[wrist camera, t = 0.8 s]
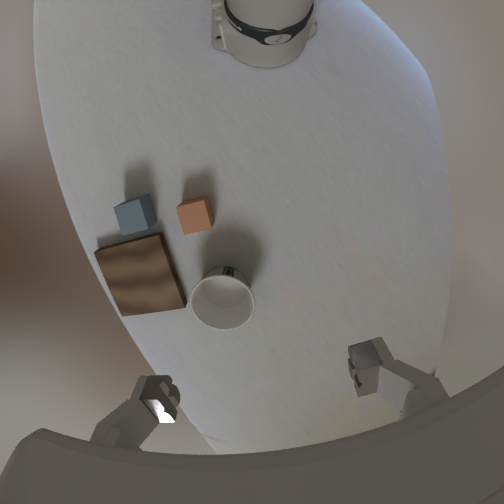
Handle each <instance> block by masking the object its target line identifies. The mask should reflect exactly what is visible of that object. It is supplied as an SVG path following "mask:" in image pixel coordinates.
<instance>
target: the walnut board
mask: <svg viewBox="0 0 504 504" xmlns="http://www.w3.org/2000/svg"><path fill="white" fill-rule="evenodd" d="M94 254H95V257H96V259H97V262H98V264H99V266H100V269H101V271H102V274H103V276H104V278H105V281H106V283H107V285H108V287H109V290H110V292H111V294H112V296H113V298H114V300H115V303H116V305H117V307H118V309H119V311H120V313H121V315H122V316H130V315H138V314H146V313H153V312H160V311H167V310H174V309H181V308H185V307H186V304H187V301H186V299H185V296H184V293H183V291H182V288H181V285H180V283H179V280H178V277H177V275H176V272H175V269H174V266H173V263H172V260H171V257H170V255H169V252H168V249H167V246H166V243H165V240H164V237H163V233H162V232H160V233H156V234H152V235H148V236H144V237H141V238H137V239H133V240H129V241H125V242H122V243H118V244H114V245H111V246H107V247H103V248H100V249H98V250H96V251H95V252H94Z"/></svg>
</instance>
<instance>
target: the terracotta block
mask: <svg viewBox="0 0 504 504" xmlns="http://www.w3.org/2000/svg"><path fill="white" fill-rule="evenodd" d="M176 208H177V212H178V215H179V219H180V222H181V225H182V229H183V232H184V235H185V234H189V233H193V232H197V231H202V230H206V229H211V228H212V227H213V224H214V222H215V221H214V218H213V214H212V210H211V206H210V203H209V199H208V196H205V197H201V198H197V199H193V200H189V201H186V202H182V203H181V204H179V205H178V206H177V207H176Z"/></svg>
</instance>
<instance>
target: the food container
mask: <svg viewBox="0 0 504 504" xmlns="http://www.w3.org/2000/svg"><path fill="white" fill-rule="evenodd" d="M190 307H191V310H192V312H193V314H194V315H195V317H196V318H197V319H198V320H199V321H200V322H202V323H203V324H204V325H206V326H208V327H210V328H213V329H217V330H233V329H236V328H239V327H241V326H243V325H244V324H246V323H247V322H248V321H249V320H250V319H251V317H252V316H253V314H254V311H255V298H254V295H253V293H252V291H251V290H250V288H249V286H248V283H247V280H246V278H245V277H244V275H243V274H242V273H241V272H239V271H238V270H236V269H234V268H231V267H218V268H215V269H213V270H211V271H210V272H208V273H207V275H206V276H205V277H204V278H203V279H202V280H200V281H199V282H198V283H197V284H196V285H195V286H194V288H193V289H192V291H191V294H190Z"/></svg>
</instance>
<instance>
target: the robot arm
mask: <svg viewBox="0 0 504 504" xmlns="http://www.w3.org/2000/svg"><path fill="white" fill-rule="evenodd" d="M313 2H314V0H212V45H213V47H214V48H215V49H218V50H221V51H225V52H228V53H230V54H231V55H233V56H234V57H235V58H237V59H238V60H240V61H241V62H243V63H245V64H248V65H251V66H254V67H260V68H273V67H279V66H282V65H285V64H287V63H289V62H291V61H293V60H294V59H295V58H297V57H298V56H299V55H300V53H301V52H302V50H303V48H304V46H305V44H306V42H307V41H308V40H309V39H310V38H312V37H313V36H314V35H315V34H316V32H317V27H316V25H315V24H314V21H315V14H314V13H313V6H314V3H313ZM219 36H220V37H221V38H220V39H217V37H219ZM348 354H349V356H350V358H349V359H348V366H349V372H350V375H351V378H352V379H353V380H354V387H355V389H356V392H357V395H358V397H361V396H364V395H368V394H372V393H375V392H377V394H379V395H380V396H381V397H383V398H384V399H385V400H387V401H388V402H390V403H391V404H392V405H394V406H395V407H397V408H398V409H399V410H401V414H400V417H399V420H398V421H395V422H393V423H390V424H387V425H384V426H381V427H378V428H375V429H372V430H369V431H365V432H362V433H359V434H355V435H352V436H348V437H344V438H340V439H336V440H332V441H327V442H323V443H318V444H313V445H308V446H302V447H296V448H290V449H283V450H276V451H267V452H257V453H245V454H226V455H188V454H169V453H157V452H148V451H143V450H142V449H140V448H139V446H140V445H141V444H142V443H143V441H144V440H145V439H146V438H147V437H148V436H149V435H150V433H151V432H152V431H153V430H154V429H155V428H156V427H157V425H158V424H159V422H175V419H176V415H177V410H176V407H177V406H178V405H179V403H180V393H179V390H178V388H177V386H175V385H174V384H172V381H173V380H172V379H171V377H170V376H169V375H154V376H153V375H150V376H140V377H139V378H138V381H137V383H136V385H135V388H134V390H133V393H132V395H131V398H130V400H126V401H125V402H124V403H123V404H121V405H120V406H119V407H118V408H117V409H115V410H114V411H113V412H111V413H110V414H109V415H108V416H106V417H105V418H104V419H103V420H101V421H100V422H99V423H98V424H97V425H96V428H95V430H94V432H93V434H92V437H91V439H90V441H85V440H81V439H77V438H74V437H70V436H66V435H63V434H60V433H57V432H53V431H51V430H48V429H44V428H41V429H38V430H36V431H34V432H33V433H31V434H30V435H28V436H27V437H25V438H24V439H22V440H21V441H20V442H19V444H18V445H17V446H16V448H15V450H14V451H13V453H12V455H11V457H10V458H9V460H8V462H7V464H6V466H5V467H4V469H3V472H2V474H1V476H0V504H504V366H503V367H501V368H500V369H498V370H497V371H495V372H494V373H492V374H491V375H489V376H488V377H486V378H485V379H483V380H481V381H480V382H478V383H476V384H475V385H473V386H471V387H469V388H467V389H466V390H464V391H462V392H460V393H458V394H456V395H454V396H453V397H451V398H450V397H449V396H448V394H447V392H446V391H445V389H444V388H443V386H442V384H441V382H440V381H439V379H438V378H436V377H434V376H432V375H429V374H427V373H425V372H423V371H421V370H419V369H417V368H414V367H412V366H410V365H408V364H406V363H404V362H402V361H400V360H394V358H393V356H392V354H391V353H390V351H389V349H388V347H387V346H386V344H385V342H384V340H383V339H382V337H377V338H374V339H371V340H368V341H364V342H361V343H358V344H354V345H350V346H348Z"/></svg>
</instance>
